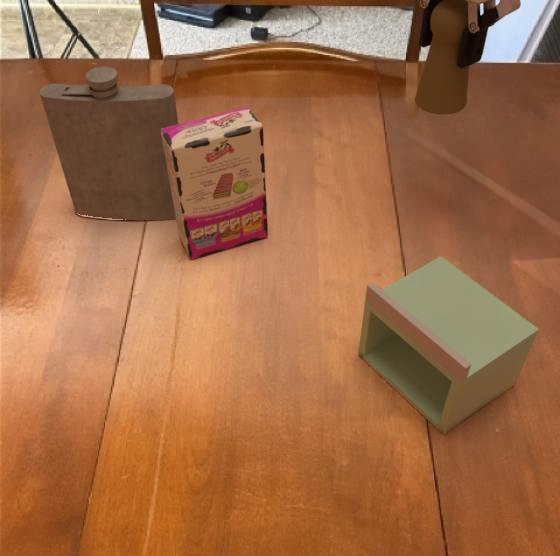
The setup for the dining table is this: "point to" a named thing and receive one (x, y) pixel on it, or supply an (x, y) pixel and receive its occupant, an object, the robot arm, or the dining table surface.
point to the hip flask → (113, 145)
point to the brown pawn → (445, 61)
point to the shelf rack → (443, 342)
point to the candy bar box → (217, 181)
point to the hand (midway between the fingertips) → (449, 51)
